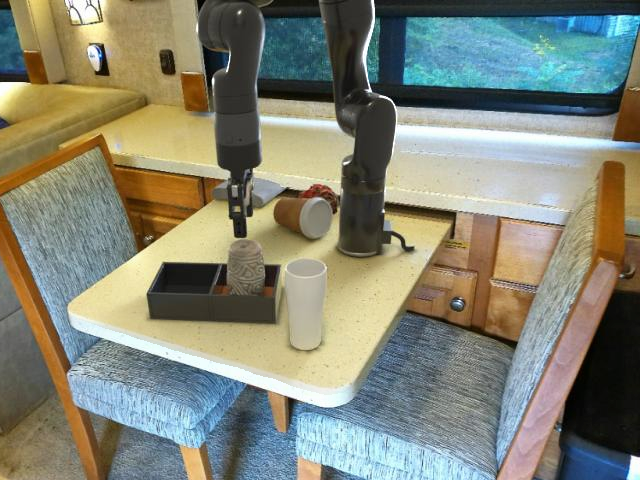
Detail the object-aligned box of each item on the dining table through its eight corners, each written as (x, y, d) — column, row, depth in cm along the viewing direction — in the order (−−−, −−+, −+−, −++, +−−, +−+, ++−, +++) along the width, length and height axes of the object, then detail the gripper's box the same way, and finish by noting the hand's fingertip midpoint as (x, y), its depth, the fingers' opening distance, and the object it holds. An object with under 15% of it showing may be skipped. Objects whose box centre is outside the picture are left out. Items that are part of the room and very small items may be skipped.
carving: (257, 313, 111) (255, 256, 104) (221, 305, 114) (217, 249, 107) (271, 296, 115) (270, 240, 109) (237, 289, 118) (233, 234, 112)
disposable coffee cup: (286, 237, 146) (323, 246, 137) (262, 221, 139) (299, 229, 131) (301, 202, 146) (339, 208, 138) (278, 184, 140) (316, 189, 131)
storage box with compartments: (281, 289, 119) (281, 264, 116) (276, 323, 109) (275, 297, 106) (166, 285, 123) (162, 261, 120) (150, 319, 113) (146, 293, 110)
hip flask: (263, 208, 153) (299, 182, 167) (262, 193, 151) (299, 168, 165) (212, 198, 160) (250, 173, 174) (210, 184, 158) (249, 160, 172)
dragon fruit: (338, 228, 144) (299, 223, 152) (352, 199, 146) (313, 195, 154) (323, 208, 138) (283, 204, 146) (338, 178, 140) (297, 175, 148)
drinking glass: (283, 333, 106) (281, 259, 98) (320, 329, 107) (322, 255, 99) (288, 356, 101) (288, 279, 93) (328, 352, 101) (331, 275, 93)
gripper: (255, 150, 91) (260, 245, 100) (265, 123, 103) (269, 209, 111) (207, 151, 92) (216, 245, 101) (222, 124, 104) (229, 209, 113)
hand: (244, 226), depth 106 cm, fingers open, 8 cm apart
